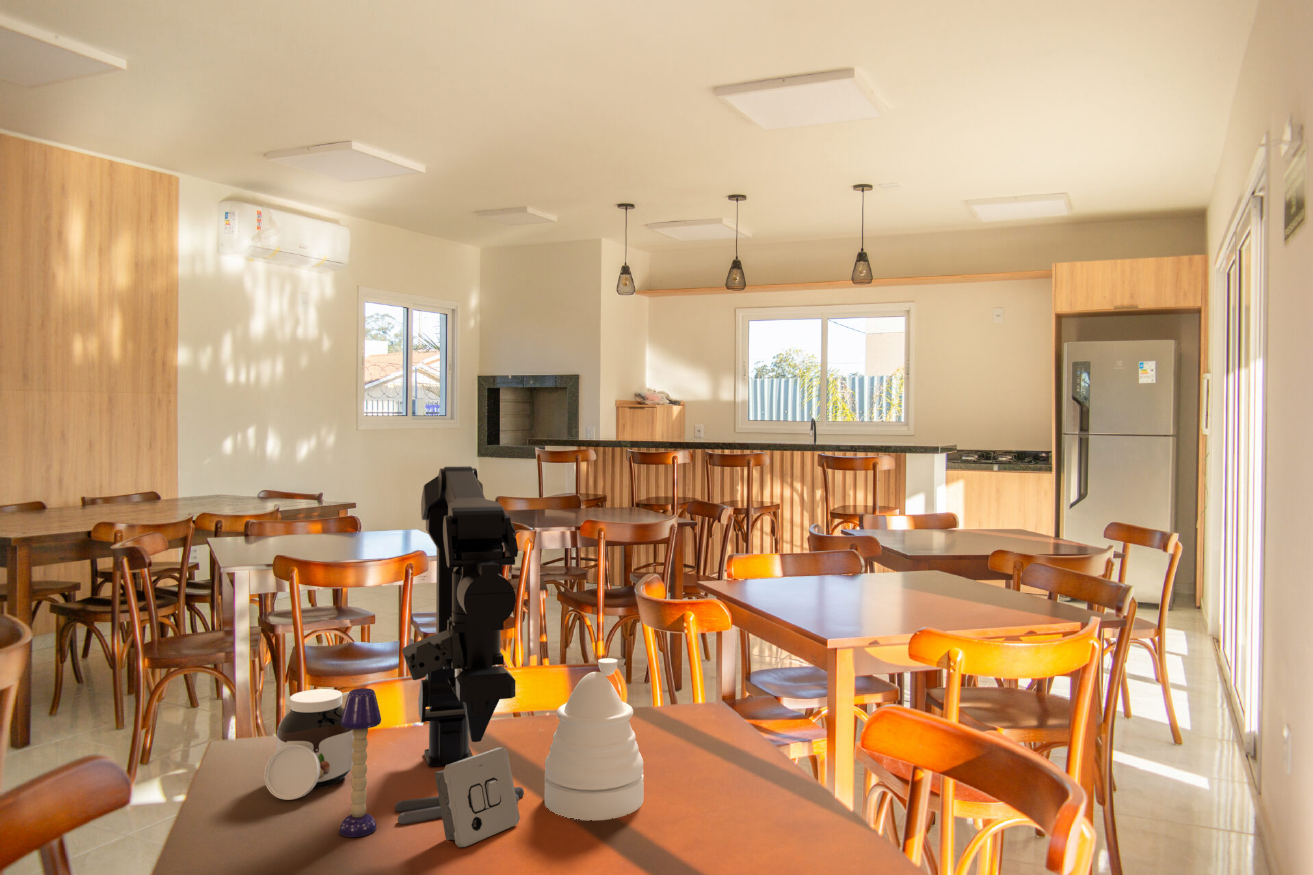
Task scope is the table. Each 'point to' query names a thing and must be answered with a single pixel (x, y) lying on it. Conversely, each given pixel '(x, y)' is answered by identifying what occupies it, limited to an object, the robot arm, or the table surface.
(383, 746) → the table surface
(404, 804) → the cord
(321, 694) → the spread jar
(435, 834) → the table surface
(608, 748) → the honey pot
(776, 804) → the table surface
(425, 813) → the cord
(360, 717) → the toy lamp
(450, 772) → the electrical switch
